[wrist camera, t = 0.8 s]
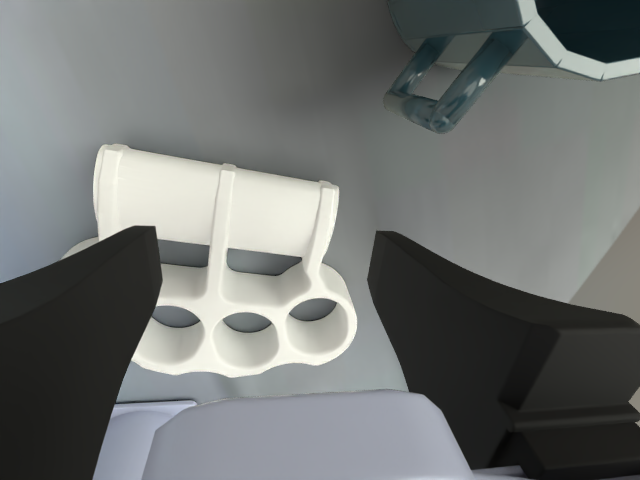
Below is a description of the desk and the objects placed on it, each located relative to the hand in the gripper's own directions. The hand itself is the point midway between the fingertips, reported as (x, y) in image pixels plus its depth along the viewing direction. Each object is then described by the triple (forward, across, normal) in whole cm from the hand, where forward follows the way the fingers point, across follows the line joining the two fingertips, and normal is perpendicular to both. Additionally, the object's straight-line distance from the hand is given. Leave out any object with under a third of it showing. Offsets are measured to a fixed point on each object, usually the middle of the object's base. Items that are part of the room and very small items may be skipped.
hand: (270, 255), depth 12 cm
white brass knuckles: (+10, +3, +7) cm, 12 cm away
